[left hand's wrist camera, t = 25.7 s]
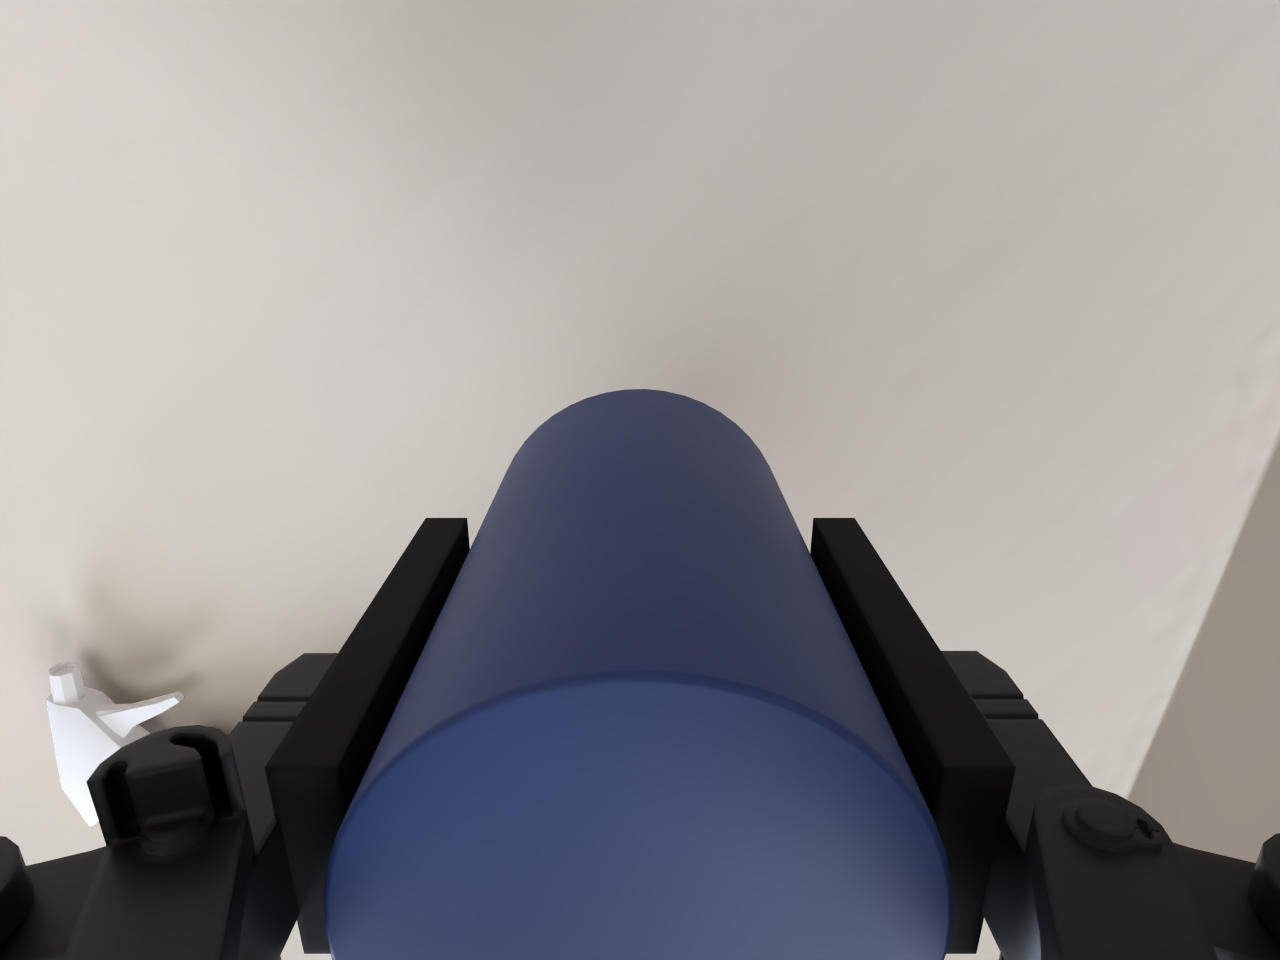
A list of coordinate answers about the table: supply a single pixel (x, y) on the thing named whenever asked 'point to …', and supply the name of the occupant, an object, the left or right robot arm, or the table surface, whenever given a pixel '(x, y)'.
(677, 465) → the can
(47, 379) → the table surface
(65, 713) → the dark grey flat piece
